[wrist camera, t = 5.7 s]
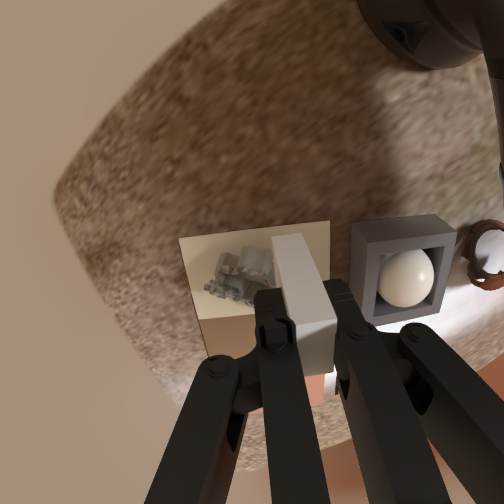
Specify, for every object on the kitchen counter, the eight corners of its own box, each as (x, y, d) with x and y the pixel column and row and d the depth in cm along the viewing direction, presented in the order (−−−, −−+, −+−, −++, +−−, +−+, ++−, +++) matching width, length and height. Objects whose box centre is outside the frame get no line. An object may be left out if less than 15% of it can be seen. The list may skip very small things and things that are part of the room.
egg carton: (209, 252, 33) (197, 287, 31) (265, 238, 28) (254, 279, 26) (271, 298, 39) (263, 329, 37) (325, 292, 34) (318, 328, 32)
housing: (351, 222, 34) (367, 243, 29) (434, 213, 34) (457, 231, 29) (347, 303, 39) (359, 329, 35) (422, 290, 39) (439, 312, 34)
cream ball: (367, 237, 35) (392, 269, 28) (420, 231, 34) (450, 260, 28) (363, 288, 38) (383, 325, 32) (412, 280, 38) (437, 313, 32)
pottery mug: (451, 282, 40) (457, 281, 33) (462, 220, 40) (470, 206, 33) (518, 300, 34) (536, 301, 27) (529, 237, 34) (547, 227, 27)
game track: (178, 238, 34) (178, 238, 33) (329, 220, 33) (329, 221, 33) (227, 414, 49) (227, 415, 49) (321, 403, 49) (322, 404, 49)
